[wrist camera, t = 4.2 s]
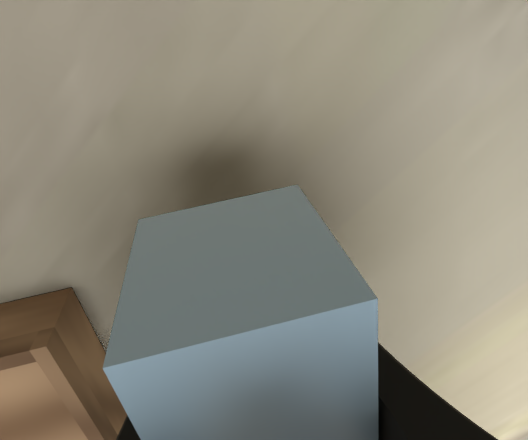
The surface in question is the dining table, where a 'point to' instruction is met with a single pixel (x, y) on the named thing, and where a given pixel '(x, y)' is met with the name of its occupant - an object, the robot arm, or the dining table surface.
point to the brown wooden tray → (54, 373)
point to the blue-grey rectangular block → (245, 326)
